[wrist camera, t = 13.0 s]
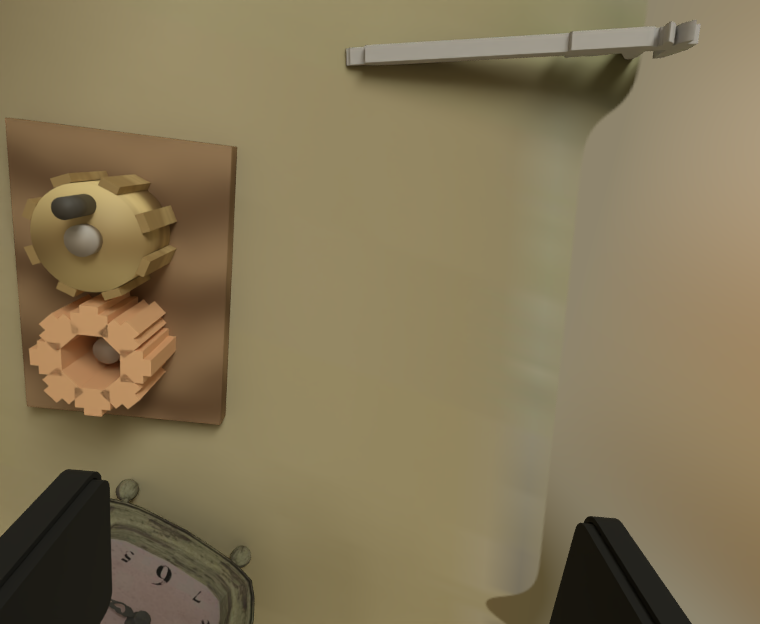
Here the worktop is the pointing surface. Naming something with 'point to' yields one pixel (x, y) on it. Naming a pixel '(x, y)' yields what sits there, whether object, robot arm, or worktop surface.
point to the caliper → (535, 46)
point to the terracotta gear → (83, 370)
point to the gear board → (171, 283)
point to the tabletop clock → (171, 572)
